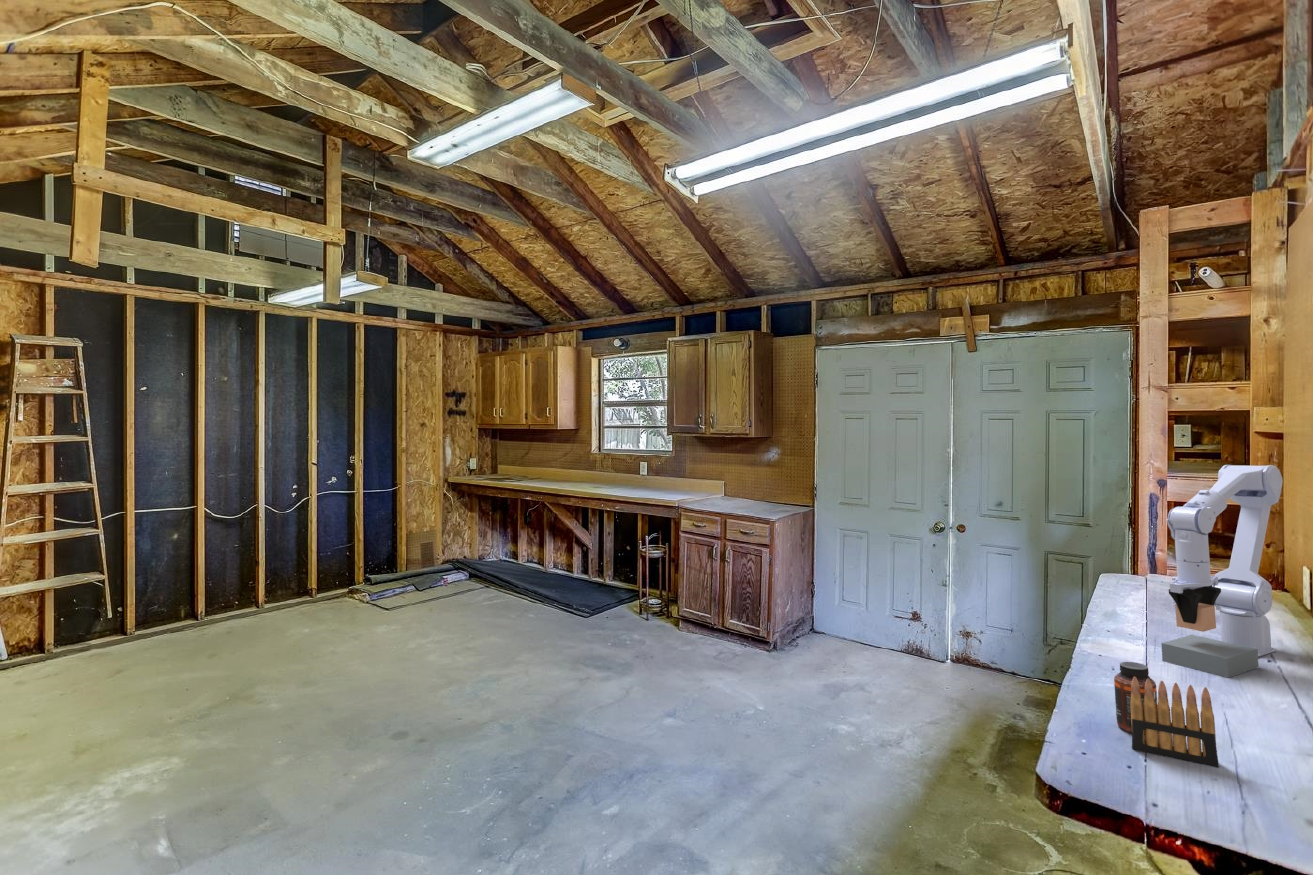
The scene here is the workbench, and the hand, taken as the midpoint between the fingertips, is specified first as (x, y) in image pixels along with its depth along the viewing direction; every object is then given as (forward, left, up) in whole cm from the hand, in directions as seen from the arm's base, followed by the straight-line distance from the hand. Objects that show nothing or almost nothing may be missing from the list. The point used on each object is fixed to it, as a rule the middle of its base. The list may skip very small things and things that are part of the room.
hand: (1196, 620), depth 138 cm
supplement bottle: (+45, +12, -10) cm, 48 cm away
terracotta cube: (0, 0, -2) cm, 2 cm away
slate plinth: (-1, +1, -9) cm, 9 cm away
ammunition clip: (+50, +20, -10) cm, 55 cm away
